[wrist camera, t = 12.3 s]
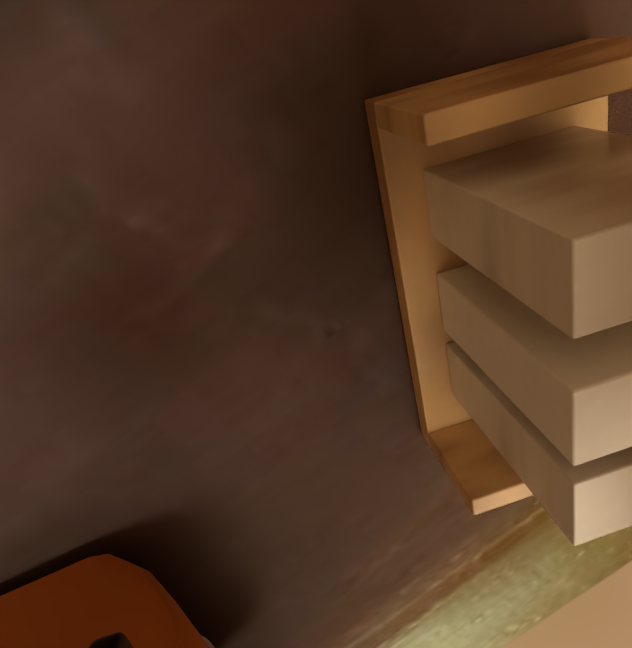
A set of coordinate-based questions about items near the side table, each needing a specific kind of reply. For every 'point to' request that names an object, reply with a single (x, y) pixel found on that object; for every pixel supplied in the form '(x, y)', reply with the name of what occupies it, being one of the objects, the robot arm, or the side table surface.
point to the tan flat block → (544, 365)
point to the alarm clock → (95, 609)
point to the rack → (512, 255)
